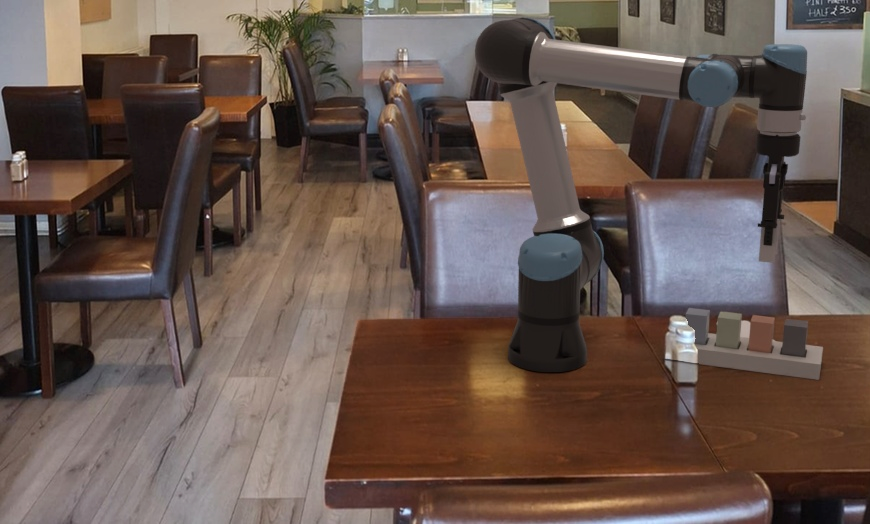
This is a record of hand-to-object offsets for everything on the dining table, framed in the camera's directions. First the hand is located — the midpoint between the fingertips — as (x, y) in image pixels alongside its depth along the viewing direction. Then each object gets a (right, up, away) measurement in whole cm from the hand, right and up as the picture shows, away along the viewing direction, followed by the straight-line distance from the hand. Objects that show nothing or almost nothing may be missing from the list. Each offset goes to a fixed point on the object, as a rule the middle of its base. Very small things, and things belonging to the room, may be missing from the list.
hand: (768, 257), depth 192 cm
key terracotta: (0, -17, +5) cm, 18 cm away
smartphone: (+2, -16, +21) cm, 27 cm away
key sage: (-6, -17, +7) cm, 19 cm away
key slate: (-11, -16, +9) cm, 22 cm away
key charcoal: (+6, -18, +3) cm, 19 cm away
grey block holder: (-3, -20, +7) cm, 21 cm away
